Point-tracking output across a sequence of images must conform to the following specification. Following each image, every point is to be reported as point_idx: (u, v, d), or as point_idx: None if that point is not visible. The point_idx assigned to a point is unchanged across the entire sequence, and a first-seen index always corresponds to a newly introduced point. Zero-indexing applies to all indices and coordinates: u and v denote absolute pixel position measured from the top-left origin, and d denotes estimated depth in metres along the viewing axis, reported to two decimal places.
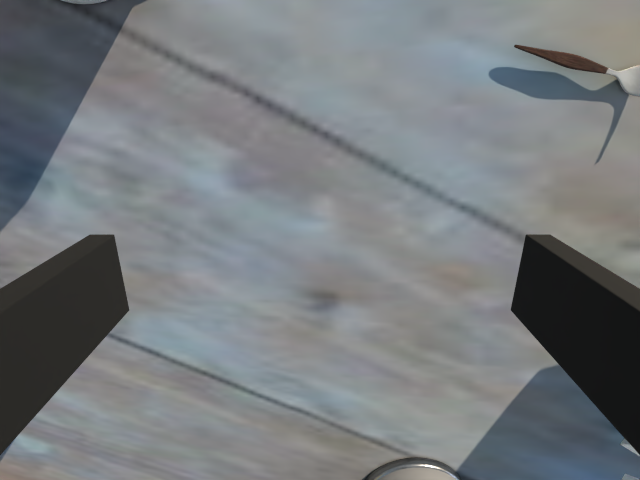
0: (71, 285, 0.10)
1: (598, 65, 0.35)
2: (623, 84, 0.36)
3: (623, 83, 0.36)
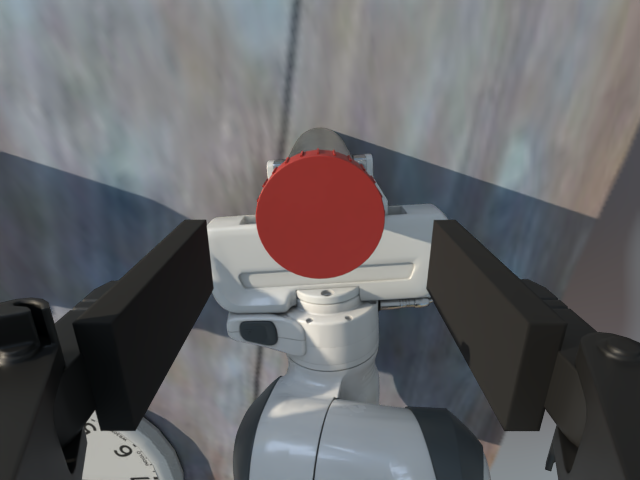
0: (185, 261, 0.11)
1: None
2: None
3: None
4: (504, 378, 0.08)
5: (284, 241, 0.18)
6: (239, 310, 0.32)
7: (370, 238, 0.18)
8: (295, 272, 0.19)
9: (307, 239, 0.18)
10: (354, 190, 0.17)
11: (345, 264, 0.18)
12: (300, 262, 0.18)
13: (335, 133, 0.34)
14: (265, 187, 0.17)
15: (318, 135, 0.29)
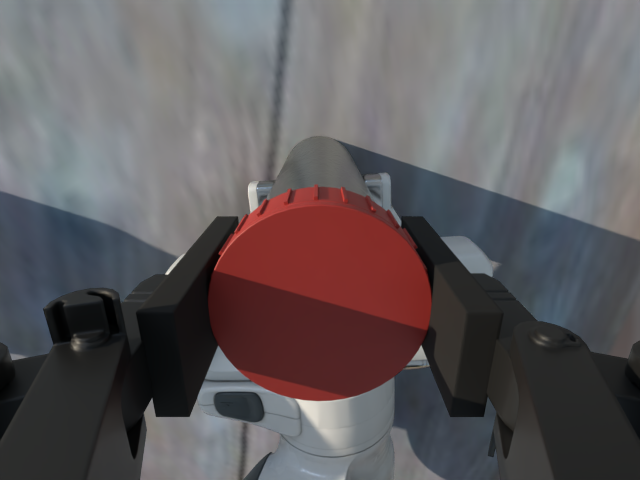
0: None
1: None
2: None
3: None
4: (450, 366, 0.09)
5: (257, 345, 0.11)
6: (214, 377, 0.24)
7: (406, 340, 0.10)
8: (277, 392, 0.11)
9: (297, 342, 0.10)
10: (380, 264, 0.10)
11: (362, 380, 0.11)
12: (286, 377, 0.11)
13: (339, 143, 0.27)
14: (222, 258, 0.10)
15: (317, 149, 0.21)
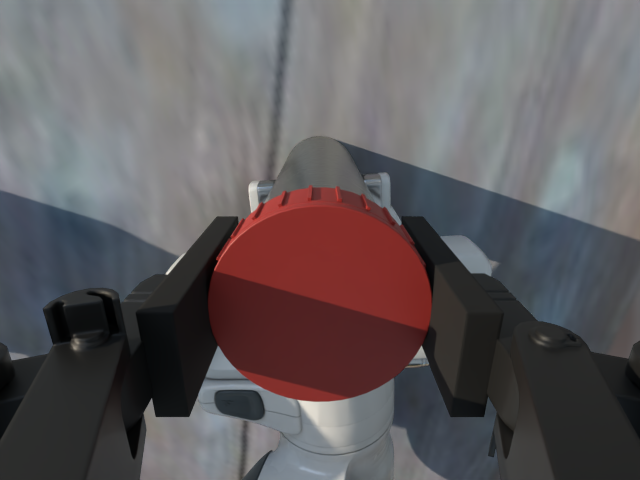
0: None
1: None
2: None
3: None
4: (450, 366, 0.09)
5: (381, 346, 0.10)
6: (214, 375, 0.24)
7: (305, 225, 0.09)
8: (429, 309, 0.10)
9: (360, 317, 0.10)
10: (243, 291, 0.10)
11: (375, 240, 0.09)
12: (406, 309, 0.10)
13: (339, 143, 0.27)
14: (312, 400, 0.11)
15: (317, 149, 0.21)
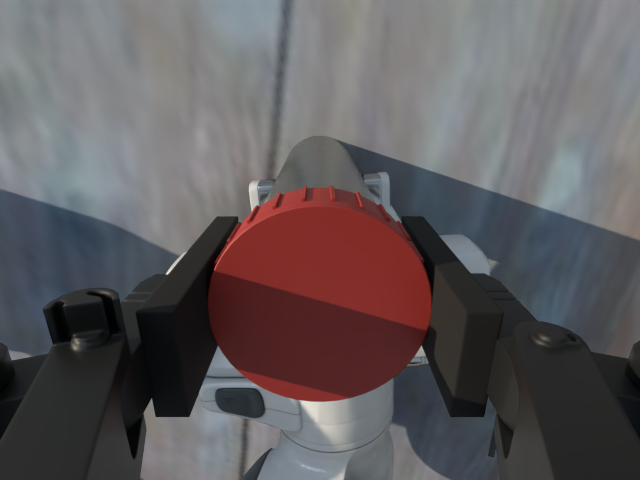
0: None
1: None
2: None
3: None
4: (450, 366, 0.09)
5: (324, 244, 0.09)
6: (215, 373, 0.24)
7: (247, 360, 0.11)
8: (257, 225, 0.09)
9: (303, 280, 0.10)
10: (331, 377, 0.11)
11: (225, 307, 0.10)
12: (270, 245, 0.09)
13: (339, 143, 0.27)
14: (424, 274, 0.10)
15: (317, 148, 0.21)
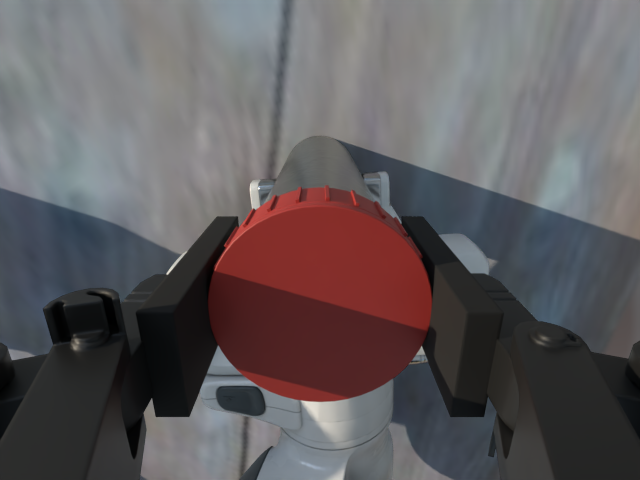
0: None
1: None
2: None
3: None
4: (450, 366, 0.09)
5: (254, 341, 0.10)
6: (216, 371, 0.25)
7: (402, 348, 0.11)
8: (268, 389, 0.11)
9: (294, 341, 0.10)
10: (385, 270, 0.10)
11: (354, 384, 0.11)
12: (279, 375, 0.11)
13: (339, 143, 0.27)
14: (228, 251, 0.10)
15: (317, 148, 0.22)
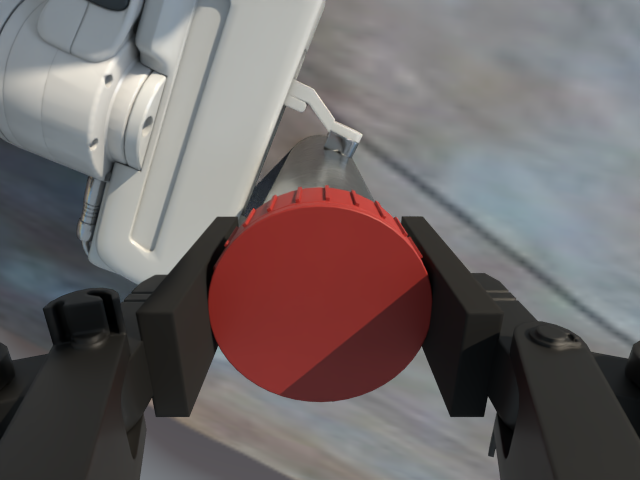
0: None
1: None
2: None
3: None
4: (450, 366, 0.09)
5: (254, 341, 0.10)
6: None
7: (402, 348, 0.11)
8: (268, 389, 0.11)
9: (294, 341, 0.10)
10: (385, 270, 0.10)
11: (354, 384, 0.11)
12: (279, 375, 0.11)
13: None
14: (228, 251, 0.10)
15: None
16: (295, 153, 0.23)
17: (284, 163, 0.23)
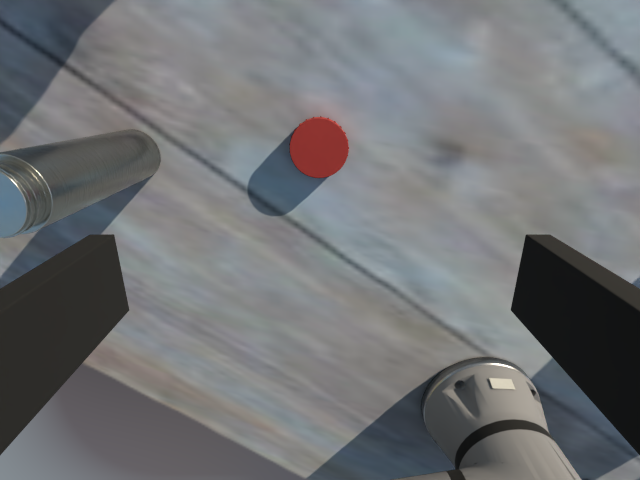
0: (71, 285, 0.10)
1: None
2: None
3: None
4: None
5: (301, 157, 0.39)
6: None
7: (341, 159, 0.39)
8: (304, 173, 0.40)
9: (312, 157, 0.39)
10: (335, 135, 0.38)
11: (328, 171, 0.40)
12: (307, 168, 0.40)
13: (145, 178, 0.40)
14: (296, 130, 0.38)
15: (127, 179, 0.35)
16: None
17: None
